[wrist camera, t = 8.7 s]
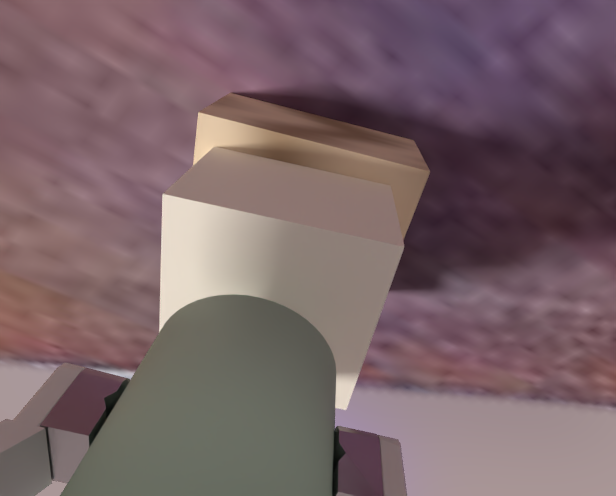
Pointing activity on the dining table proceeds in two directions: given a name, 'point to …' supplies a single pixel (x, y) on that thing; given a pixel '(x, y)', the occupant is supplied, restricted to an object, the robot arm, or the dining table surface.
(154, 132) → the dining table surface
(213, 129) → the tower base
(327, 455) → the sage green capsule
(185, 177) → the tower top
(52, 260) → the dining table surface
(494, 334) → the dining table surface
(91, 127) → the dining table surface
